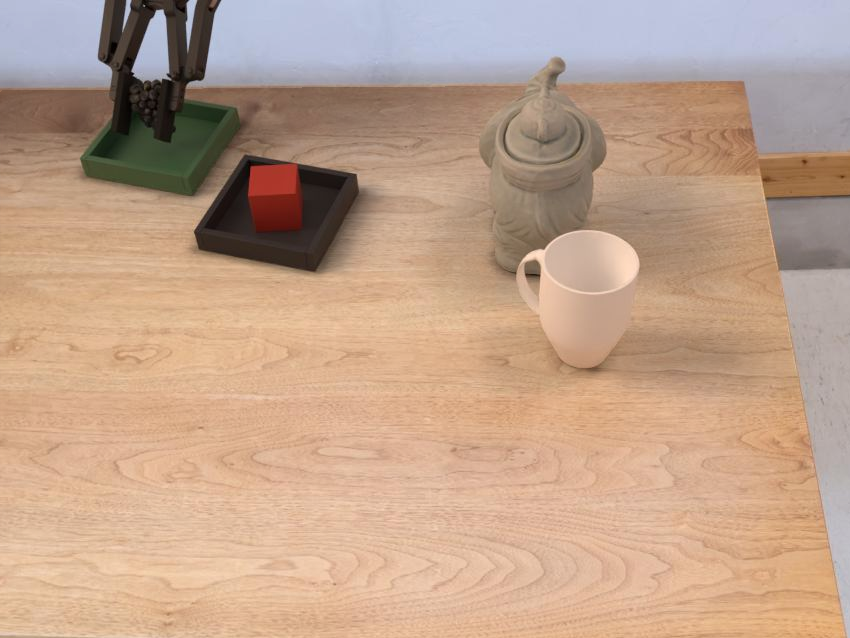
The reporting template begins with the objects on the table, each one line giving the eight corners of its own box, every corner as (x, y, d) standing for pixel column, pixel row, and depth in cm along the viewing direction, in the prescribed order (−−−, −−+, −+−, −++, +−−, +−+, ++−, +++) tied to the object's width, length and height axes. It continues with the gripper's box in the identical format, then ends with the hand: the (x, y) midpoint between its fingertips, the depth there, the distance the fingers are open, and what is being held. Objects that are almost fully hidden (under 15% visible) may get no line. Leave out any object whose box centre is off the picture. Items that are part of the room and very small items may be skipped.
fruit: (143, 155, 129) (124, 95, 123) (141, 132, 132) (123, 73, 126) (183, 148, 130) (166, 88, 123) (180, 126, 132) (164, 66, 126)
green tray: (85, 176, 129) (79, 158, 127) (139, 108, 137) (133, 89, 135) (192, 196, 127) (188, 177, 125) (241, 125, 135) (237, 107, 132)
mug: (642, 340, 111) (656, 248, 102) (600, 397, 107) (611, 307, 97) (539, 297, 115) (544, 205, 106) (495, 351, 111) (496, 260, 101)
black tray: (198, 249, 121) (193, 231, 119) (248, 172, 129) (244, 153, 127) (315, 272, 118) (312, 253, 116) (359, 192, 126) (356, 173, 124)
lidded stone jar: (536, 168, 128) (543, 16, 113) (642, 226, 122) (664, 73, 107) (437, 240, 121) (430, 88, 106) (544, 306, 114) (552, 154, 100)
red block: (255, 232, 122) (248, 195, 118) (258, 202, 125) (250, 166, 121) (301, 229, 122) (295, 193, 118) (302, 200, 125) (296, 163, 121)
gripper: (259, -57, 125) (226, 154, 128) (117, -76, 128) (88, 130, 132) (231, -81, 117) (197, 143, 121) (81, -101, 121) (52, 118, 124)
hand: (140, 136), depth 126 cm, fingers closed on fruit, 5 cm apart
